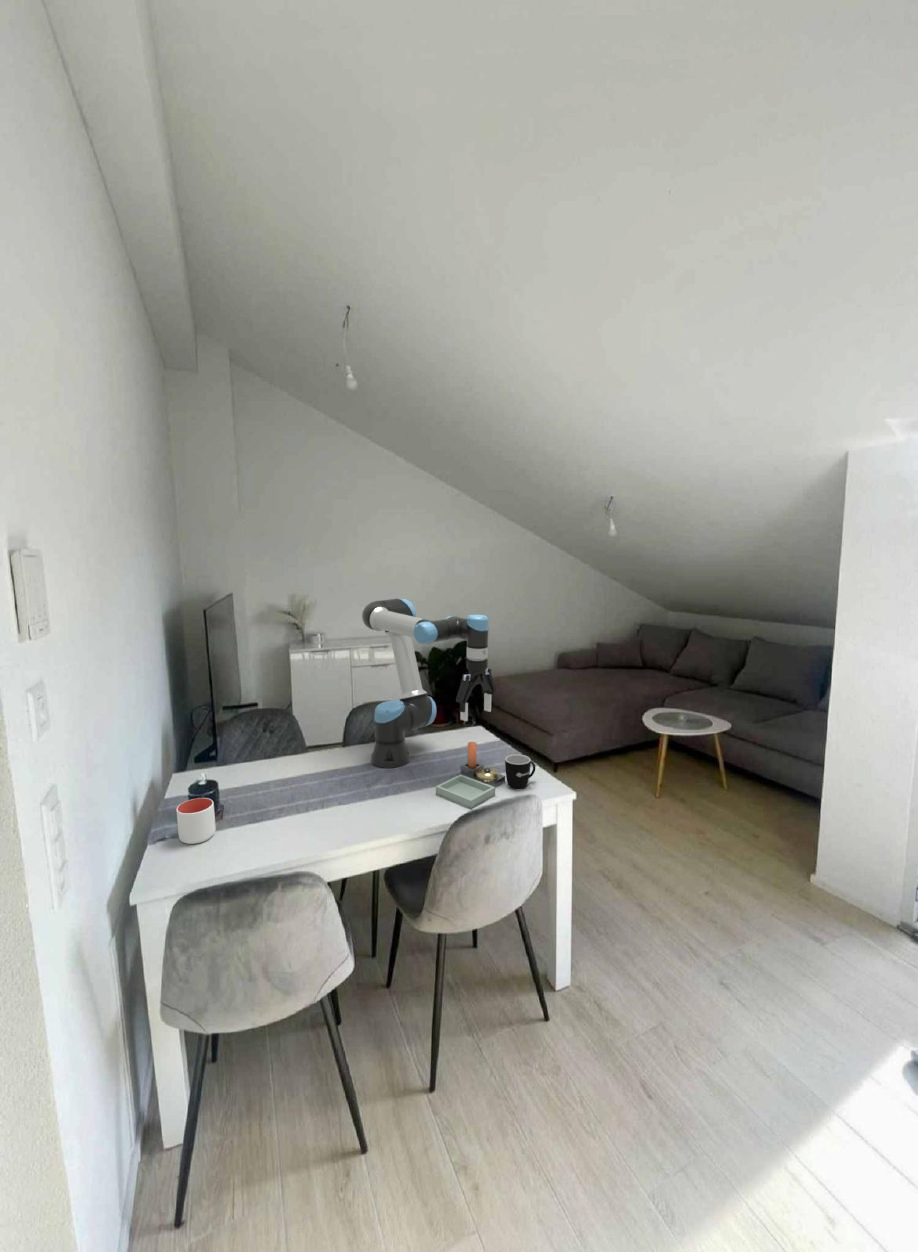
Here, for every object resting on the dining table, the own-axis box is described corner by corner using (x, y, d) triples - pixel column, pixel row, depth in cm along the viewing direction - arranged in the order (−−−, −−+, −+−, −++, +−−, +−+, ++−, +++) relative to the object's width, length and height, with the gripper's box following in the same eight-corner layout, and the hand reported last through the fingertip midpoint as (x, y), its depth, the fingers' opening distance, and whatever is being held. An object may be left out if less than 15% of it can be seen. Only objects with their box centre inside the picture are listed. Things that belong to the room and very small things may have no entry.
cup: (187, 828, 171) (184, 798, 170) (220, 827, 172) (218, 797, 171) (173, 846, 162) (170, 814, 160) (209, 845, 162) (206, 813, 161)
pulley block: (505, 782, 203) (505, 768, 202) (488, 791, 195) (488, 777, 194) (473, 771, 212) (473, 757, 212) (456, 779, 205) (456, 765, 204)
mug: (513, 793, 194) (514, 766, 192) (500, 783, 202) (500, 757, 200) (542, 786, 199) (542, 759, 198) (527, 776, 207) (528, 751, 206)
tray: (435, 794, 193) (435, 786, 193) (460, 782, 203) (460, 774, 203) (471, 809, 183) (471, 800, 182) (495, 795, 193) (495, 787, 192)
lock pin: (466, 771, 206) (466, 743, 204) (471, 769, 208) (471, 741, 206) (472, 774, 204) (472, 745, 202) (478, 771, 206) (478, 743, 204)
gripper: (462, 666, 187) (461, 726, 190) (506, 654, 205) (504, 709, 209) (445, 662, 191) (445, 721, 195) (490, 651, 210) (488, 705, 214)
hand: (476, 715), depth 202 cm, fingers open, 13 cm apart
